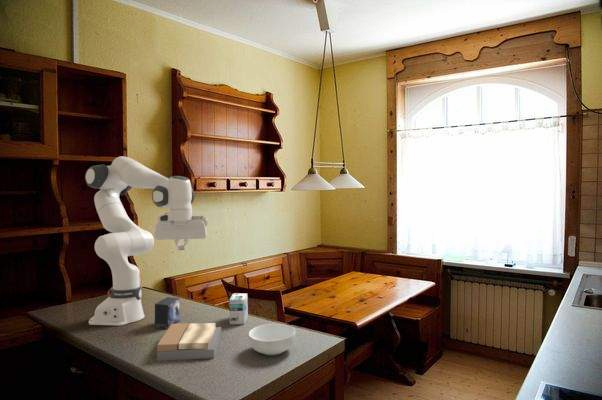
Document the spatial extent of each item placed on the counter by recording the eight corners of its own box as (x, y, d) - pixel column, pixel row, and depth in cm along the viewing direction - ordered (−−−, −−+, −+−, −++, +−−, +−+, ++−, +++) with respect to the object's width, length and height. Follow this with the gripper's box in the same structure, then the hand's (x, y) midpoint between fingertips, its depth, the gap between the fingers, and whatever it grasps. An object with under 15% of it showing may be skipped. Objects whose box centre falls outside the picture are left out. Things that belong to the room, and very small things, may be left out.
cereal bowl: (262, 339, 154) (262, 321, 154) (302, 345, 148) (302, 326, 147) (239, 356, 138) (239, 336, 138) (283, 364, 132) (283, 343, 132)
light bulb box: (245, 324, 170) (244, 299, 170) (229, 324, 170) (228, 299, 170) (248, 316, 181) (247, 292, 180) (233, 316, 181) (232, 292, 180)
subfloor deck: (157, 360, 135) (156, 345, 135) (172, 336, 157) (171, 323, 157) (214, 358, 137) (213, 343, 137) (221, 334, 159) (220, 321, 159)
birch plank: (178, 349, 137) (178, 343, 137) (189, 328, 157) (189, 323, 157) (208, 348, 138) (208, 342, 138) (215, 328, 158) (215, 323, 158)
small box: (168, 329, 165) (167, 304, 165) (154, 328, 166) (153, 303, 166) (180, 321, 175) (180, 297, 175) (167, 320, 177) (166, 296, 176)
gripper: (208, 215, 166) (208, 248, 166) (157, 215, 164) (158, 249, 165) (205, 216, 160) (206, 250, 160) (153, 217, 158) (154, 251, 158)
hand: (181, 250), depth 162 cm, fingers closed
